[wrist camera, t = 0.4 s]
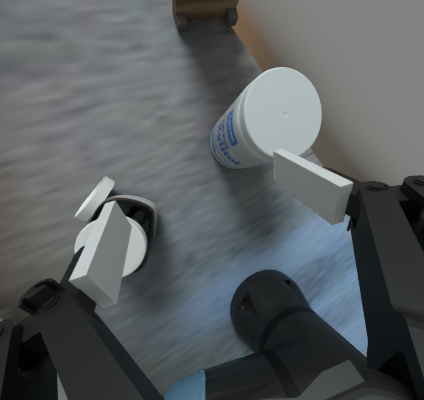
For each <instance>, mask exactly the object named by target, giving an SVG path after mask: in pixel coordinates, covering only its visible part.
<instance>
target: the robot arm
mask: <svg viewBox="0 0 424 400" xmlns="http://www.w3.org/2000/svg"><path fill="white" fill-rule="evenodd" d="M273 163H274V180H275V181H276V182H277V183H278V184H280V185H281V186H282V187H284V188H285V189H286V190H287V191H289V192H290V193H291V194H293V195H294V196H295V197H296V198H298V199H299V200H300V201H301V202H303V203H304V204H305V205H307V206H308V207H309V208H310V209H312V210H313V211H314V212H316V213H317V214H318V215H319V216H321V217H322V218H323V219H325V220H326V221H327V222H328V223H330V224H331V225H334V224H337V223H340V222H343V220H344V216H345V213H346V214H347V215H349V216H350V221H349V224H348V227H347V231H349V229H351V235H352V242H353V248H354V254H355V261H356V267H357V273H358V280H359V286H360V292H361V299H362V305H363V311H364V318H365V324H366V330H367V337H368V348H367V358H366V357H365V356H364V355H363V354H362V353H361V352H360V351H358V350H357V349H356V348H355V347H354V346H353V345H352V344H350V343H349V342H348V341H347V340H346V339H345V338H344V337H342V336H341V335H340V334H339V333H338V332H337V331H336V330H334V329H333V328H332V327H331V326H330V325H329V324H328V323H326V322H325V321H324V320H323V319H322V318H321V317H320V316H318V315H317V314H316V313H315V312H314V311H313V310H312V309H311V307H310V305H309V304H308V302H307V300H306V299H305V297H304V295H303V294H302V292H301V290H300V288H299V287H298V286H297V284H296V283H295V282H294V281H293V280H291V279H290V278H289V277H288V276H287V275H285V274H284V273H282V272H279V271H276V270H264V271H260V272H257V273H255V274H253V275H251V276H249V277H248V278H247V279H246V280H244V281H243V282H242V283H241V285H240V286H239V287H238V289H237V290H236V292H235V294H234V296H233V298H232V302H231V307H230V315H231V320H232V323H233V325H234V327H235V330H236V332H237V334H238V335H239V337H240V338H241V339H242V340H243V341H244V342H245V343H246V344H247V345H248V346H249V348H250V349H251V350H252V351H253V352H254V354H251V355H248V356H245V357H242V358H239V359H236V360H233V361H229V362H226V363H223V364H220V365H217V366H214V367H211V368H208V369H205V370H204V369H203V368H201V369H199V370H198V372H197V373H194V374H192V375H189V376H187V377H185V378H182V379H180V380H177V381H175V382H174V383H172V384H171V385H170V387H169V388H168V389H167V391H166V393H165V395H164V398H163V397H162V396H161V394H160V393H159V392H158V391H157V389H156V388H155V387H154V385H153V384H152V383H151V382H150V380H149V379H148V378H147V377H146V375H145V374H144V373H143V372H142V370H141V369H140V368H139V366H138V365H137V364H136V363H135V361H134V360H133V359H132V358H131V356H130V355H129V354H128V352H127V351H126V350H125V349H124V347H123V346H122V345H121V344H120V342H119V341H118V340H117V338H116V337H115V336H114V335H113V333H112V332H111V331H110V330H109V328H108V327H107V326H106V324H105V323H104V322H103V321H102V319H101V318H100V317H99V316H98V314H96V313H95V312H94V310H95V307H96V304H97V305H98V306H99V307H101V308H102V309H105V308H107V307H110V306H113V305H116V304H117V300H118V295H119V290H120V285H121V280H122V275H123V270H124V265H125V260H126V255H127V249H128V244H129V239H130V234H131V229H132V226H131V224H130V223H129V221H128V219H127V218H126V216H125V215H124V213H123V212H122V210H121V209H120V207H119V205H118V204H117V202H116V201H112V202H109V203H105V205H104V207H103V209H102V211H101V214H100V216H99V218H98V220H97V222H96V224H95V226H94V228H93V231H92V233H91V235H90V237H89V239H88V241H87V243H86V245H85V246H82V247H81V248H80V249H79V250H78V251H77V252H76V254H75V255H74V257H73V259H72V261H71V263H70V265H69V267H68V269H67V271H66V273H65V275H64V276H63V278H62V280H61V282H60V284H59V283H57V282H56V281H55V280H53V279H51V278H49V279H45V280H42V281H40V282H38V283H37V284H35V285H34V286H32V287H31V288H30V289H29V290H28V291H27V292H26V293H25V294H24V295H23V296H22V297H21V299H20V301H19V303H18V307H19V308H21V309H22V310H24V311H26V312H28V313H29V314H31V315H29V316H28V317H26V318H24V319H23V320H21V321H19V322H18V323H17V322H15V321H13V320H11V319H6V320H3V321H1V322H0V400H58V390H57V389H58V388H57V374H58V376H59V379H60V381H61V384H62V386H63V388H64V391H65V393H66V396H67V398H68V400H424V176H420V175H419V176H408V177H406V178H405V179H404V181H403V184H402V185H398V186H389V185H387V184H385V183H381V182H375V181H368V182H363V183H362V182H359V181H357V180H355V179H353V178H351V177H348V176H346V175H343V174H342V173H340V172H337V171H335V170H333V169H331V168H326V167H320V166H318V165H316V164H313V163H311V162H309V161H307V160H305V159H303V158H301V157H299V156H297V155H295V154H292V153H290V152H288V151H286V150H284V149H282V148H281V149H278V150H275V151H273Z"/></svg>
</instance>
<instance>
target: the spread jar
mask: <svg viewBox="0 0 424 400" xmlns="http://www.w3.org/2000/svg"><path fill="white" fill-rule="evenodd" d="M114 184H115V182H114V181H113V180H111V179H110V178H108V177H105V178H103V180H102V181H101V182H100V183H99V184H98V185H97V186H96V188H95V189H94V190H93V191H92V192H91V194H90V195H89V196H88V198H87V199H86V200H85V202H84V203H83V204H82V206H81V207H80V208H79V210H78V211H77V213H76V215H75V218H77V219H79V220H82V221H84V222H86V221H87V220H88V219H90V218H91V219H90V222H89V224H88V225H87V226H86V227H84V229H83V230H82V231H81V232H80V234H79V235H78V237H77V240H76V243H75V254H76V252H77V251H78V250H79V249H80V248H81V247H82V246H85V245H86V243H87V241H88V239H89V237H90V235H91V233H92V231H93V228H94V226H95V224H96V222H97V220H98V218H99V216H100V214H101V211H102V209H103V207H104V205H105V203H109V202H112V201H116V202H117V204H118V205H119V207H120V209H121V210H122V212H123V213H124V215H125V216H126V218H127V219H128V221H129V223H130V224H131V226H132V229H131V234H130V239H129V244H128V249H127V255H126V260H125V265H124V270H123V275H122V277H125V276H127V275H129V274H131V273H135V272H138V271H139V270H140V269H141V268H142V267H143V266H144V265H145V263H146V261H147V258H148V256H149V253H150V250H151V247H152V244H153V240H154V237H155V233H156V229H157V221H158V211H157V207H156V205H155V204H154V203H153V202H152V201H150V200H148V199H145V198H142V197H138V196H132V195H118V196H113V197H110V198H107V196H108V195H109V193H110V191H111V190H112V188H113V186H114ZM106 198H107V199H106ZM105 199H106V200H105ZM91 216H92V217H91Z"/></svg>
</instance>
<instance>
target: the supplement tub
mask: <svg viewBox="0 0 424 400" xmlns="http://www.w3.org/2000/svg"><path fill="white" fill-rule="evenodd" d="M321 117H322V111H321V104H320V100H319V97H318V94H317V92H316V90H315V88H314V87H313V85H312V84H311V82H310V81H309V80H308V79H307V78H306V77H305V76H304V75H302V74H301V73H299V72H298V71H296V70H293V69H290V68H285V67H279V68H273V69H270V70H267V71H265V72H264V73H262V74H261V75H259V76H258V77H257V78H256V79H255V80H254V81H252V82H251V83H250V84H249V85H248V86H247V87H246V88H245V89H244V91H243V92H242V93H241V94H240V95H239V96H238V98H237V99H236V100H235V101H234V102H233V103H232V105H231V106H230V107H229V108H228V109H227V111H226V112H225V113H224V114H223V115H222V117H221V118H220V119H219V120H218V121H217V123H216V124H215V126H214V127H213V130H212V132H211V137H210V144H211V149H212V152H213V154H214V156H215V158H216V159H217V160H218V161H219V162H220V163H221V164H223V165H224V166H226V167H228V168H231V169H242V168H249V167H256V166H262V165H268V164H274V163H273V151H275V150H278V149H281V148H282V149H284V150H286V151H288V152H290V153H292V154H295V155H297V156H300V155H302V154H303V153H305V152H306V151H307V150H308V149H309V148H310V147H311V146H312V144H313V143H314V141H315V140H316V138H317V136H318V133H319V130H320V126H321V119H322V118H321Z"/></svg>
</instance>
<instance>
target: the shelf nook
mask: <svg viewBox="0 0 424 400" xmlns="http://www.w3.org/2000/svg"><path fill="white" fill-rule="evenodd" d="M238 1H239V0H173V15H174V19H175V22H176V26H177V30H178V32H182V31H187V27H188V21H187V20H196V19H206V18H215V17H225V20H226V24H227V26H234V25H235V24H236V22H237V19H238V14H237V10H236V6H237V3H238Z"/></svg>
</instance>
